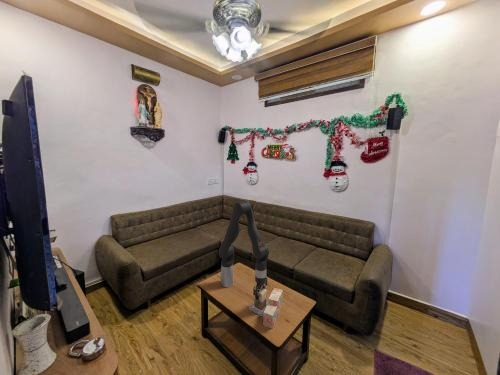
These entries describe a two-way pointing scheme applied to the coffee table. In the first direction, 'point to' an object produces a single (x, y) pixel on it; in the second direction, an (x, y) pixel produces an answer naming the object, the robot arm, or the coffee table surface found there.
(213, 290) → the coffee table surface
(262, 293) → the maple block
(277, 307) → the stack of blocks
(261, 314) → the build board
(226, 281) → the robot arm
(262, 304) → the walnut block
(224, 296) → the coffee table surface
